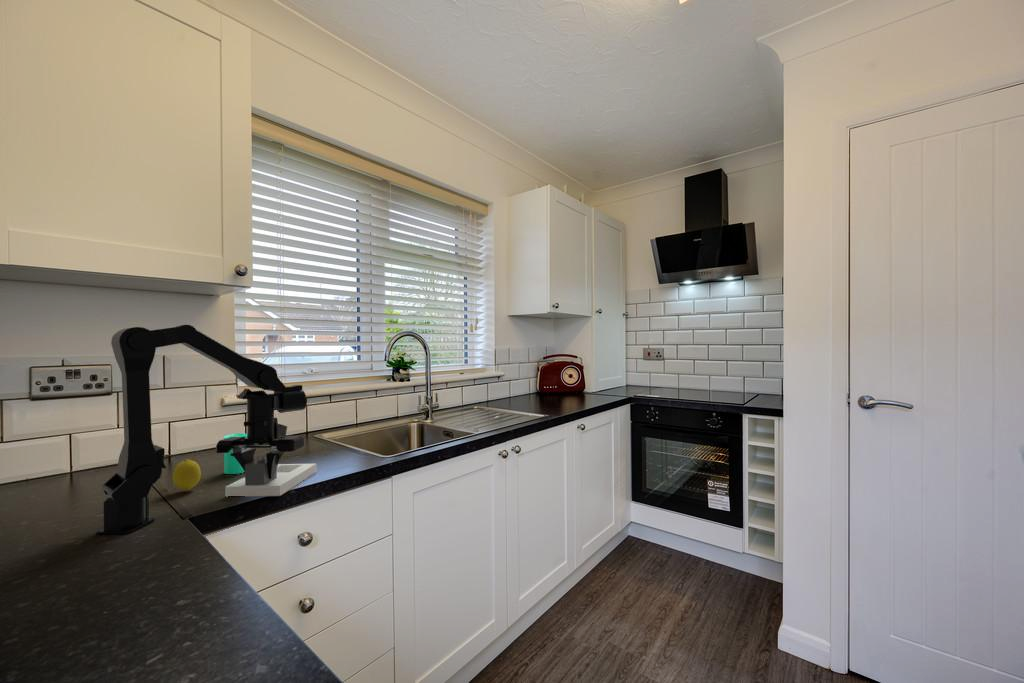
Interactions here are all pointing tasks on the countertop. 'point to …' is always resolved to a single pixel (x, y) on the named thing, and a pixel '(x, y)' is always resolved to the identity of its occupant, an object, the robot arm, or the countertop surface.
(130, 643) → the countertop surface
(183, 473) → the lemon
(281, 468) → the socket plate
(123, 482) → the robot arm
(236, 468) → the candle
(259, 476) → the plug
